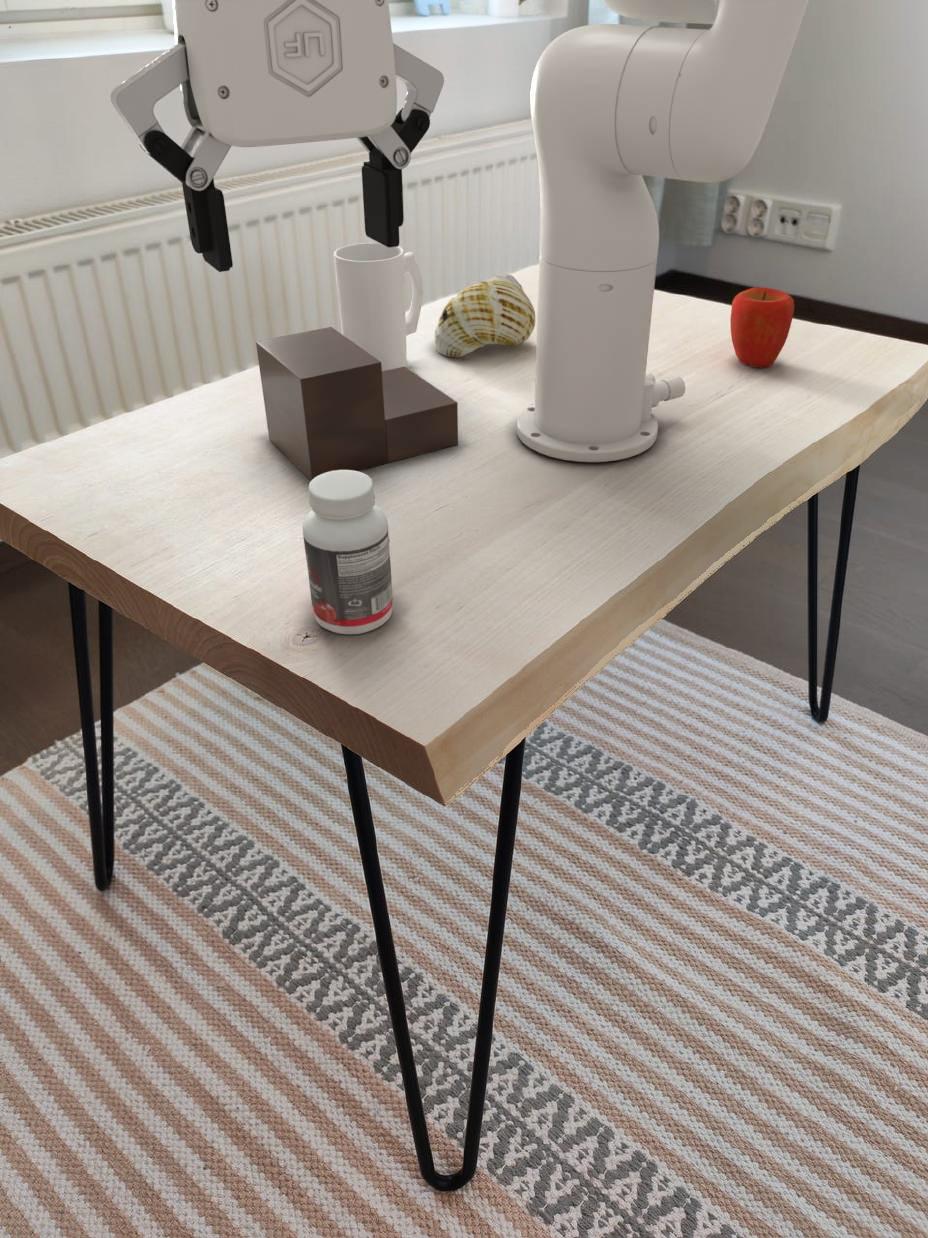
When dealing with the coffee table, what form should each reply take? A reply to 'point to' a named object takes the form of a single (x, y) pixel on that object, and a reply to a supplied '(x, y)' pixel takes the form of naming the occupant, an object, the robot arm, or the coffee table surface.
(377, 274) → the mug
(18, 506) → the coffee table surface
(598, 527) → the coffee table surface
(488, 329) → the seashell
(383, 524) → the pill bottle
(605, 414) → the robot arm
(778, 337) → the apple
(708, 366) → the coffee table surface
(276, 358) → the step shelf
